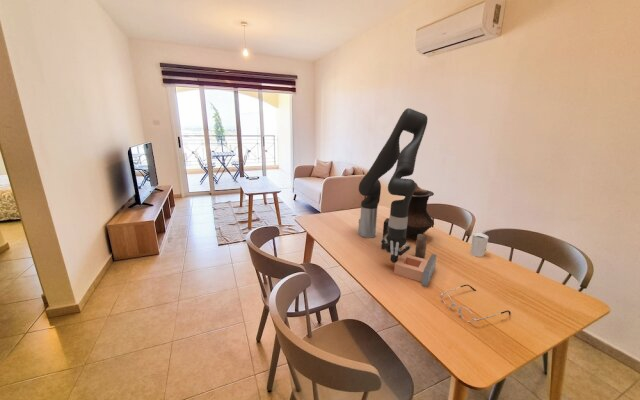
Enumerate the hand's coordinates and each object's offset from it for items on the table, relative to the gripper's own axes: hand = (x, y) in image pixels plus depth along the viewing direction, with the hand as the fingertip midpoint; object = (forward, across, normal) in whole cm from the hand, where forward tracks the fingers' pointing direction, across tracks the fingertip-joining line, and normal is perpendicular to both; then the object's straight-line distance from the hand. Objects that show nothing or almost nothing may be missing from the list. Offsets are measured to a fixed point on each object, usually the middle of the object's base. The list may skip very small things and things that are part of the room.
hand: (393, 262), depth 115 cm
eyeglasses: (+4, -32, +9) cm, 33 cm away
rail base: (+4, -6, 0) cm, 7 cm away
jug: (+4, +1, -42) cm, 42 cm away
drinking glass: (+4, -31, -37) cm, 48 cm away
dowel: (+4, -8, -16) cm, 18 cm away
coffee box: (+4, +6, -17) cm, 19 cm away
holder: (+2, -8, 0) cm, 8 cm away
